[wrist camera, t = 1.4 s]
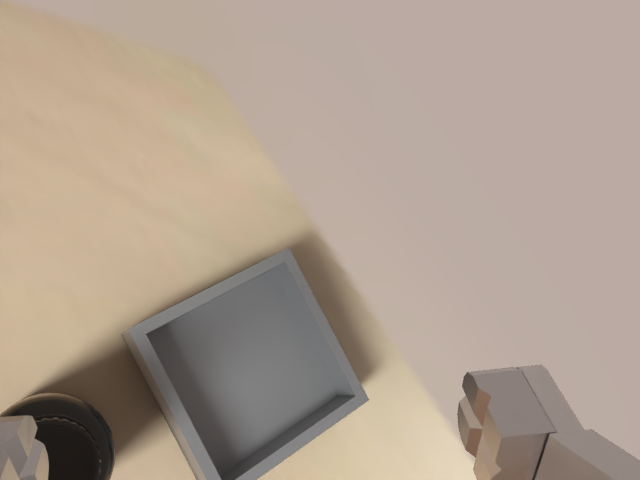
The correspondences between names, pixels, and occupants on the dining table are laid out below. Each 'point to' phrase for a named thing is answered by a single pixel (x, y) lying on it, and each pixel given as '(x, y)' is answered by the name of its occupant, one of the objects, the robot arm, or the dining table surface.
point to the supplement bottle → (69, 436)
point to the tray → (246, 370)
